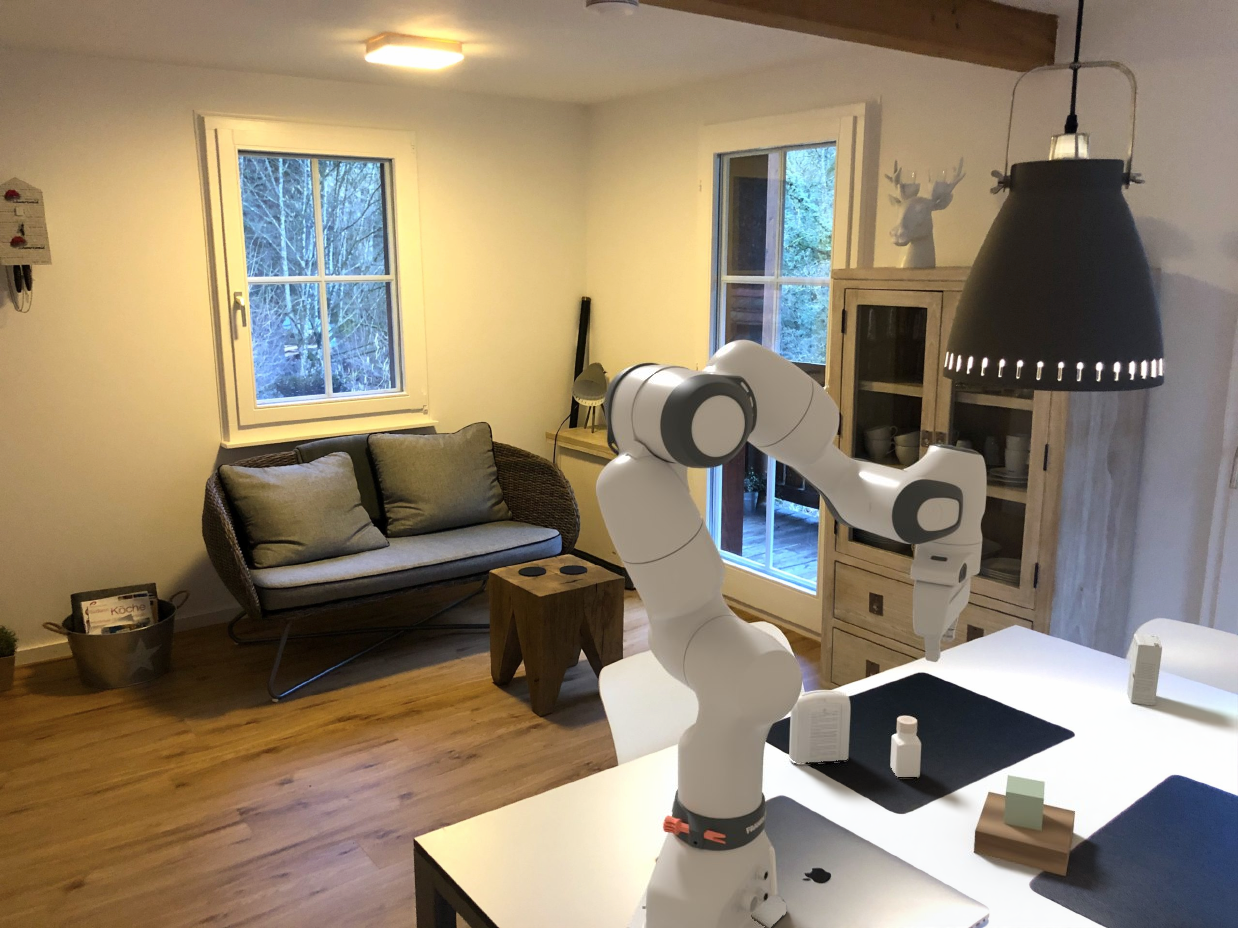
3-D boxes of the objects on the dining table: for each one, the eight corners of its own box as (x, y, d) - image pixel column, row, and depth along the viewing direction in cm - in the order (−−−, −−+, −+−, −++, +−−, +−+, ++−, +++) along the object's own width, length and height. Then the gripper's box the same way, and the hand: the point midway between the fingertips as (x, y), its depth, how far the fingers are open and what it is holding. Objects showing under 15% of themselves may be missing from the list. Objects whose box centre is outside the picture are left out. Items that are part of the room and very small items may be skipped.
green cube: (1041, 830, 140) (1043, 798, 139) (1003, 823, 142) (1005, 791, 141) (1042, 812, 144) (1044, 781, 143) (1005, 805, 146) (1007, 774, 145)
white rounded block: (843, 750, 171) (845, 683, 168) (852, 762, 167) (854, 694, 164) (785, 755, 169) (787, 688, 167) (793, 767, 165) (794, 698, 163)
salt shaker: (912, 766, 165) (915, 713, 163) (920, 778, 161) (923, 724, 159) (889, 767, 165) (891, 714, 163) (896, 779, 161) (898, 725, 159)
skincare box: (1126, 690, 193) (1131, 632, 191) (1152, 693, 192) (1157, 634, 189) (1130, 703, 188) (1136, 643, 185) (1157, 707, 186) (1162, 646, 184)
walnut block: (1065, 879, 135) (1067, 852, 134) (973, 855, 141) (975, 830, 140) (1073, 835, 145) (1075, 810, 145) (987, 815, 151) (988, 791, 150)
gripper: (941, 538, 151) (934, 625, 153) (907, 570, 133) (900, 667, 136) (984, 545, 147) (976, 633, 150) (955, 577, 130) (947, 676, 132)
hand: (940, 649), depth 143 cm, fingers open, 8 cm apart
